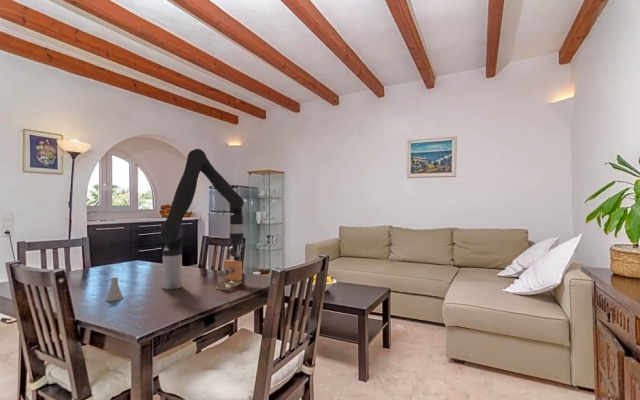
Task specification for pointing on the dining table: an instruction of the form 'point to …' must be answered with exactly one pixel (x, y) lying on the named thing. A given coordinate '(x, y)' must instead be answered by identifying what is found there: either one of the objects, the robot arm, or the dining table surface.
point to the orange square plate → (237, 269)
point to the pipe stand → (222, 280)
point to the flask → (114, 291)
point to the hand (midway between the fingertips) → (236, 263)
